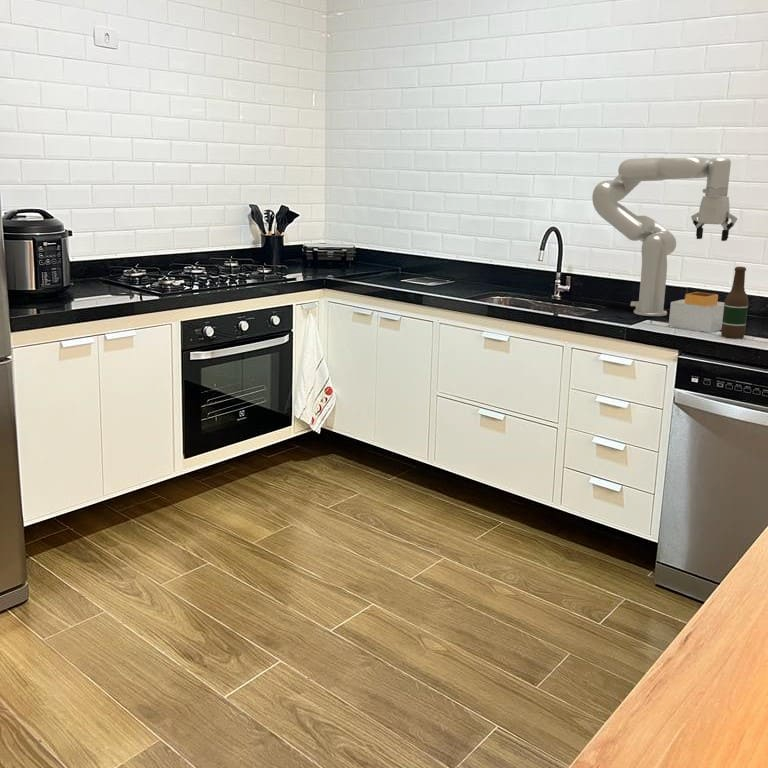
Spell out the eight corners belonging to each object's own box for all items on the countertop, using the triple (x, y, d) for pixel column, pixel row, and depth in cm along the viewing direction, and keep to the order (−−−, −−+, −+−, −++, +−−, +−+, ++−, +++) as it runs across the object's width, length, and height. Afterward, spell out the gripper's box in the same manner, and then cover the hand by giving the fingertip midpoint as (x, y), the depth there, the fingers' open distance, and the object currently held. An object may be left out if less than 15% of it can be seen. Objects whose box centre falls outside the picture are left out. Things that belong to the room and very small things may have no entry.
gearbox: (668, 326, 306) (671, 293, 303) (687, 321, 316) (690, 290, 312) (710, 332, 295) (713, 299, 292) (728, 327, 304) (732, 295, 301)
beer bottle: (747, 339, 285) (755, 268, 279) (723, 338, 286) (731, 268, 280) (741, 334, 292) (750, 265, 286) (718, 333, 294) (726, 265, 288)
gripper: (689, 192, 311) (684, 238, 315) (734, 193, 298) (729, 242, 303) (699, 191, 316) (694, 237, 320) (744, 193, 303) (738, 240, 308)
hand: (711, 239), depth 311 cm, fingers open, 9 cm apart
